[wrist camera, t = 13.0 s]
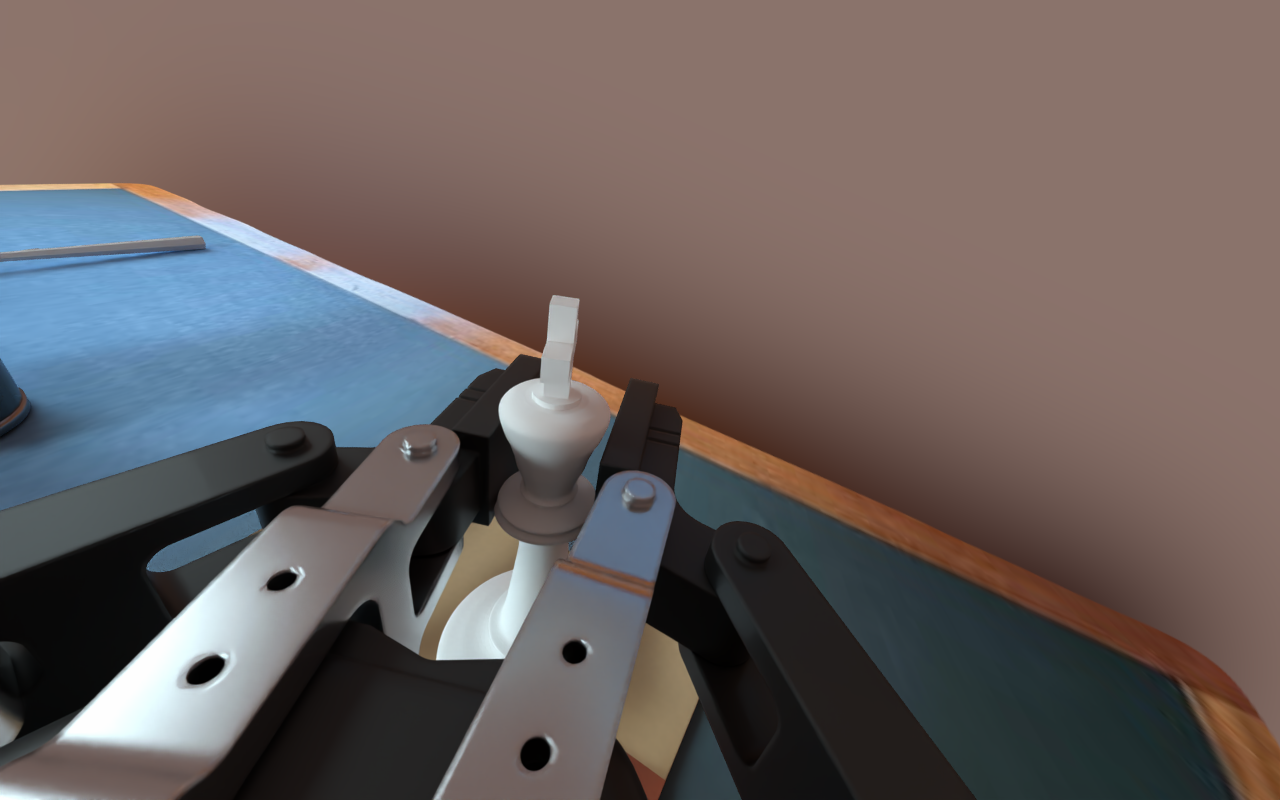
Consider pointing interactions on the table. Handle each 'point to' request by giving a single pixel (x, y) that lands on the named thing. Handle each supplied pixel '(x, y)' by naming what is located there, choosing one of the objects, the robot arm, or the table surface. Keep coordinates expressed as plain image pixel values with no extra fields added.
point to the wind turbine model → (108, 249)
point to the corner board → (657, 679)
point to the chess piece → (535, 491)
